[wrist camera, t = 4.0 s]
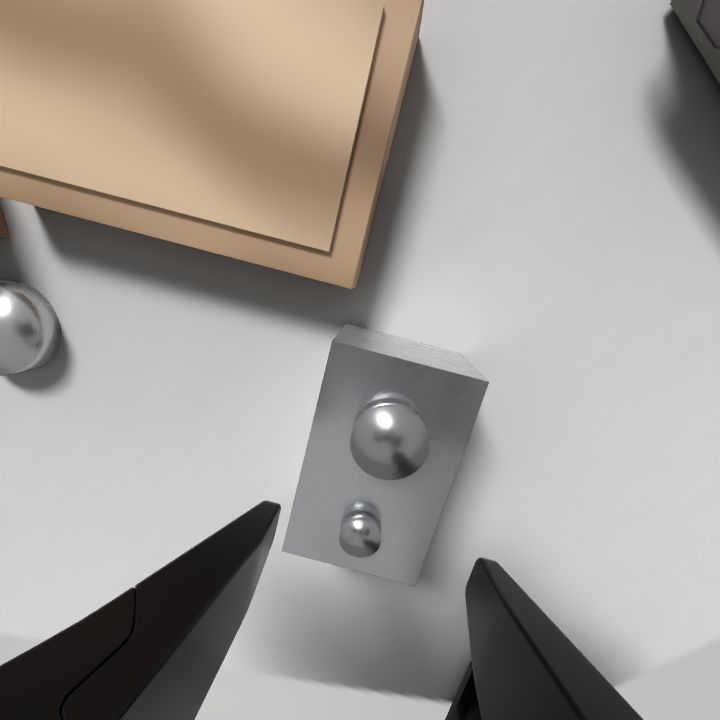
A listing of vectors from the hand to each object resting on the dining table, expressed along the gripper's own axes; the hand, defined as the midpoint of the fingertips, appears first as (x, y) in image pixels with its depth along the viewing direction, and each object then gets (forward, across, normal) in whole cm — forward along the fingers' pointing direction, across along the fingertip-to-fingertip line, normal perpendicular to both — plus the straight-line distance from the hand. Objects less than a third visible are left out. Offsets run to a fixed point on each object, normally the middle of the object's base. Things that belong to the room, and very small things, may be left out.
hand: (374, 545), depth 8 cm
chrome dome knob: (+8, +17, 0) cm, 19 cm away
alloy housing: (+8, 0, 0) cm, 8 cm away
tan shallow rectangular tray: (+8, +9, -10) cm, 16 cm away
